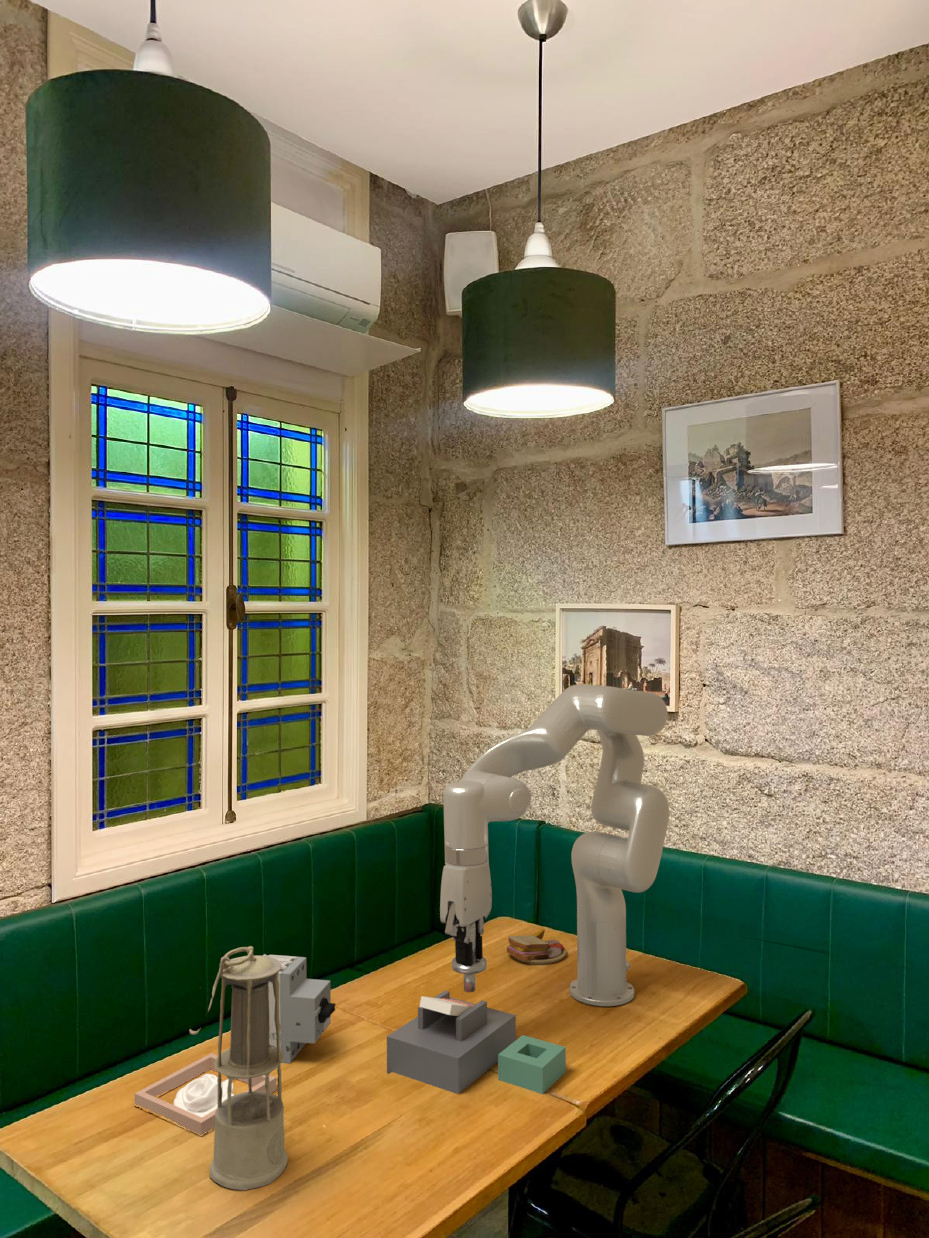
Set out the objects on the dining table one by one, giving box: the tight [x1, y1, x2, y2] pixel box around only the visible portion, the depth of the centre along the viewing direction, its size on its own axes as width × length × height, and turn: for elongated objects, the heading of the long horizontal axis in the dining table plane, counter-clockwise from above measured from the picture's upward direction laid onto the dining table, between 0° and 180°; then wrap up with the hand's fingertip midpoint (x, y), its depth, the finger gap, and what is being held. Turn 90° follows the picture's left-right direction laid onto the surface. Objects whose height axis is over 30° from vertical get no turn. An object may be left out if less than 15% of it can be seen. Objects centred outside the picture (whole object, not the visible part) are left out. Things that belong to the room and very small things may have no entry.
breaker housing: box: [386, 990, 517, 1095], centre depth 150 cm, size 18×14×10 cm
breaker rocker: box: [418, 996, 475, 1016], centre depth 150 cm, size 11×6×2 cm, turn 147°
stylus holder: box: [497, 1034, 567, 1095], centre depth 144 cm, size 8×8×4 cm
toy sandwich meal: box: [506, 928, 568, 965], centre depth 197 cm, size 12×14×5 cm
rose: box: [173, 1073, 235, 1117], centre depth 136 cm, size 10×4×10 cm
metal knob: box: [451, 921, 488, 993], centre depth 154 cm, size 6×6×12 cm
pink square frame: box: [134, 1052, 277, 1135], centre depth 139 cm, size 15×15×2 cm
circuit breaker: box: [262, 953, 336, 1065], centre depth 153 cm, size 8×14×15 cm, turn 78°
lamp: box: [189, 945, 288, 1191], centre depth 120 cm, size 10×13×30 cm
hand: (469, 959), depth 154 cm, fingers closed on metal knob
